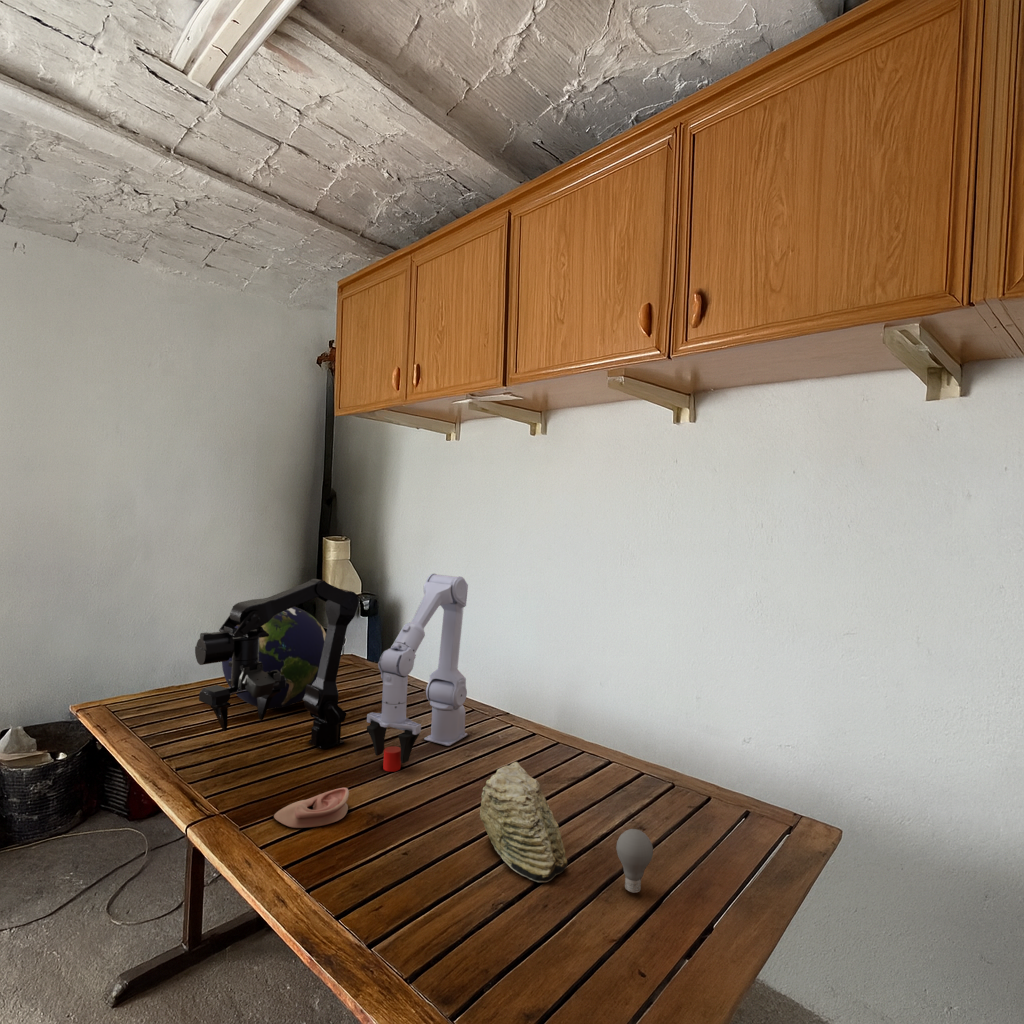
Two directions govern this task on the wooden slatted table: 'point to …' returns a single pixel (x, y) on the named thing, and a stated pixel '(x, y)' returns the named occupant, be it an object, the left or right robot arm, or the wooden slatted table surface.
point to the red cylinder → (392, 759)
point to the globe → (288, 655)
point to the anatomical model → (315, 810)
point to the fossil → (522, 824)
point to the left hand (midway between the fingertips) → (243, 725)
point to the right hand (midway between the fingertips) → (391, 758)
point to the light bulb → (634, 857)
